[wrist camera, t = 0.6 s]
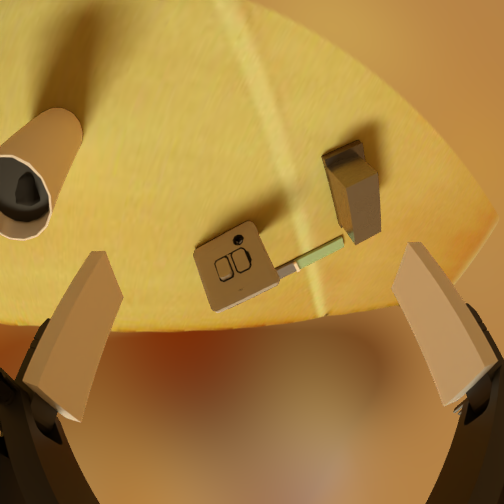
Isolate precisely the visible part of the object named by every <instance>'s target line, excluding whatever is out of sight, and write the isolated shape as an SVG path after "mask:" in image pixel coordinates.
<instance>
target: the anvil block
mask: <svg viewBox="0 0 504 504" xmlns="http://www.w3.org/2000/svg"><path fill="white" fill-rule="evenodd" d="M321 157H322V160H323V164H324V168H325V171H326V175H327V179H328V182H329V186H330V190H331V194H332V198H333V202H334V206H335V210H336V215H337V219H338V223H339V225H340V227H341V228H342V227H343V228H344V229H345V231H346V232H347V234H348V235H349V237H350V238H351V239H352V241H353V242H354V244H355V245H357V244H359V243H360V242H362V241H364V240H366V239H368V238H370V237H372V236H374V235H375V234H377V233H379V232H381V213H380V194H379V180H378V173H377V172H376V171H375V170H374V169H373V168H372V167H371V166H370V165H369V164H368V163H367V162H366V161H365V156H364V150H363V144H362V142H361V141H359V140H357V141H355V142H352V143H350V144H348V145H346V146H343V147H341V148H339V149H337V150H334V151H332V152H330V153H328V154H326V155H323V156H321Z"/></svg>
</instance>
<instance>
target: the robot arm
mask: <svg viewBox="0 0 504 504" xmlns="http://www.w3.org/2000/svg"><path fill="white" fill-rule="evenodd" d="M391 289H392V291H393V293H394V295H395V297H396V298H397V300H398V302H399V304H400V306H401V308H402V310H403V312H404V314H405V316H406V318H407V320H408V322H409V324H410V327H411V329H412V331H413V333H414V335H415V337H416V339H417V342H418V344H419V346H420V348H421V351H422V353H423V355H424V357H425V360H426V362H427V365H428V367H429V370H430V372H431V375H432V377H433V380H434V382H435V385H436V387H437V390H438V392H439V395H440V398H441V401H442V404H443V406H446V405H448V404H450V403H453V402H455V401H457V400H459V399H460V398H461V397H462V396H463V395H464V394H465V393H466V394H467V398H466V399H465V400H464V401H463V402H461V403H460V404H459V405H458V406H457V407H456V408H455V409H454V413H456V412H457V411H458V410H459V409H461V408H462V410H461V411H460V412H459V413H458V414H459V415H460V418H459V422H458V425H457V428H456V432H455V435H454V438H453V441H452V444H451V447H450V449H449V452H448V455H447V458H446V460H445V463H444V465H443V468H442V470H441V472H440V475H439V477H438V479H437V482H436V484H435V486H434V488H433V490H432V492H431V494H430V496H429V498H428V500H427V502H426V504H504V359H503V357H502V355H501V353H500V352H499V350H498V348H497V346H496V344H495V342H494V340H493V339H492V337H491V335H490V333H489V332H488V331H487V328H486V326H485V325H484V323H482V320H481V318H480V316H479V315H478V313H477V312H476V311H475V310H474V309H473V308H472V307H471V306H470V305H469V304H467V303H466V304H465V302H464V301H463V300H462V298H461V296H460V295H459V293H458V292H457V290H456V289H455V287H454V286H453V284H452V283H451V281H450V280H449V279H448V277H447V276H446V274H445V273H444V272H443V270H442V269H441V268H440V266H439V265H438V264H437V262H436V261H435V260H434V258H433V257H432V256H431V254H430V253H429V252H428V251H427V249H426V248H425V247H424V246H423V244H422V243H421V242H408V243H407V246H406V249H405V252H404V255H403V258H402V261H401V264H400V267H399V270H398V272H397V275H396V278H395V280H394V283H393V286H392V288H391ZM122 300H123V295H122V292H121V290H120V288H119V285H118V283H117V280H116V278H115V275H114V273H113V270H112V268H111V265H110V262H109V260H108V257H107V254H106V252H105V251H91V253H90V254H89V256H88V257H87V259H86V260H85V262H84V263H83V265H82V266H81V268H80V270H79V271H78V273H77V274H76V276H75V278H74V279H73V281H72V282H71V284H70V286H69V287H68V289H67V291H66V292H65V294H64V296H63V298H62V299H61V301H60V303H59V305H58V306H57V308H56V310H55V312H54V314H53V316H52V317H51V319H49V318H48V319H47V320H46V321H45V322H44V323H43V324H42V325H41V326H40V327H39V329H38V331H37V333H36V335H35V337H34V340H33V341H32V343H31V345H30V349H28V351H27V354H26V356H25V358H24V360H23V363H22V365H21V367H20V369H19V372H18V374H17V377H16V379H15V381H14V380H13V379H12V378H11V377H10V376H9V375H8V374H7V373H6V372H5V371H4V370H3V369H2V368H0V431H1V436H0V504H100V503H99V502H98V500H97V498H96V497H95V495H94V493H93V492H92V490H91V488H90V486H89V484H88V483H87V481H86V479H85V477H84V475H83V473H82V471H81V469H80V467H79V465H78V463H77V461H76V459H75V457H74V455H73V452H72V450H71V448H70V445H69V443H68V441H67V438H66V436H65V433H64V431H63V428H62V425H61V423H60V421H59V419H58V417H56V415H57V412H59V413H60V414H62V415H63V416H65V417H66V418H68V419H71V420H74V421H78V422H82V418H83V414H84V410H85V407H86V403H87V400H88V396H89V393H90V389H91V386H92V383H93V379H94V376H95V373H96V370H97V367H98V364H99V361H100V358H101V355H102V352H103V349H104V346H105V344H106V341H107V338H108V335H109V333H110V330H111V327H112V325H113V322H114V320H115V317H116V315H117V312H118V310H119V307H120V305H121V302H122Z"/></svg>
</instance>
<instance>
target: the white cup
mask: <svg viewBox="0 0 504 504" xmlns="http://www.w3.org/2000/svg"><path fill="white" fill-rule="evenodd" d="M82 135H83V132H82V128H81V125H80V122H79V120H78V119H77V118H76V117H75V115H74V114H73V113H72V112H70V111H68V110H66V109H64V108H51V109H49V110H46V111H44V112H42V113H41V114H39V115H38V116H37V117H35V118H34V119H33V120H31V121H30V122H29V123H27V124H26V125H25V126H23V127H22V128H21V129H20V130H19V131H17V132H16V133H15V134H14V135H13V136H11V137H10V138H9V139H8V140H7V141H6V142H4V143H3V144H2V145H1V146H0V235H2V236H4V237H6V238H8V239H12V240H23V241H25V240H28V239H31V238H34V237H37V236H38V235H39V234H40V233H41V232H43V231H44V230H45V229H46V228H47V226H48V223H49V220H50V217H51V214H52V212H53V209H54V206H55V203H56V201H57V198H58V195H59V193H60V190H61V188H62V185H63V183H64V181H65V178H66V176H67V174H68V171H69V169H70V167H71V165H72V163H73V161H74V158H75V156H76V154H77V152H78V150H79V148H80V146H81V144H82Z"/></svg>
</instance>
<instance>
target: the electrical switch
mask: <svg viewBox="0 0 504 504" xmlns="http://www.w3.org/2000/svg"><path fill="white" fill-rule="evenodd" d="M193 256H194V259H195V262H196V265H197V268H198V272H199V275H200V277H201V280H202V283H203V286H204V289H205V292H206V295H207V298H208V301H209V304H210V306H211V309H212V310H213V311H215V312H217V313H220V312H222V311H224V310H227V309H229V308H232V307H234V306H236V305H238V304H240V303H242V302H244V301H246V300H248V299H250V298H253V297H255V296H257V295H259V294H261V293H263V292H265V291H267V290H269V289H271V288H273V287H275V286H277V285H278V284H279V281H280V277H279V275H278V273H277V271H276V269H274V267H273V264H272V262H271V260H270V258H269V256H268V254H267V252H266V249H265V247H264V245H263V243H262V241H261V239H260V236H259V234H258V230H257V228H256V226H255V224H254V223H253V222H251V221H246V222H244V223H243V224H241V225H239V226H237V227H235V228H233V229H232V230H230V231H228V232H226V233H224V234H222V235H221V236H219V237H217V238H215V239H213V240H211V241H210V242H208V243H206V244H204V245H202V246H201V247H199V248H197V249H195V251H194V253H193Z"/></svg>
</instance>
